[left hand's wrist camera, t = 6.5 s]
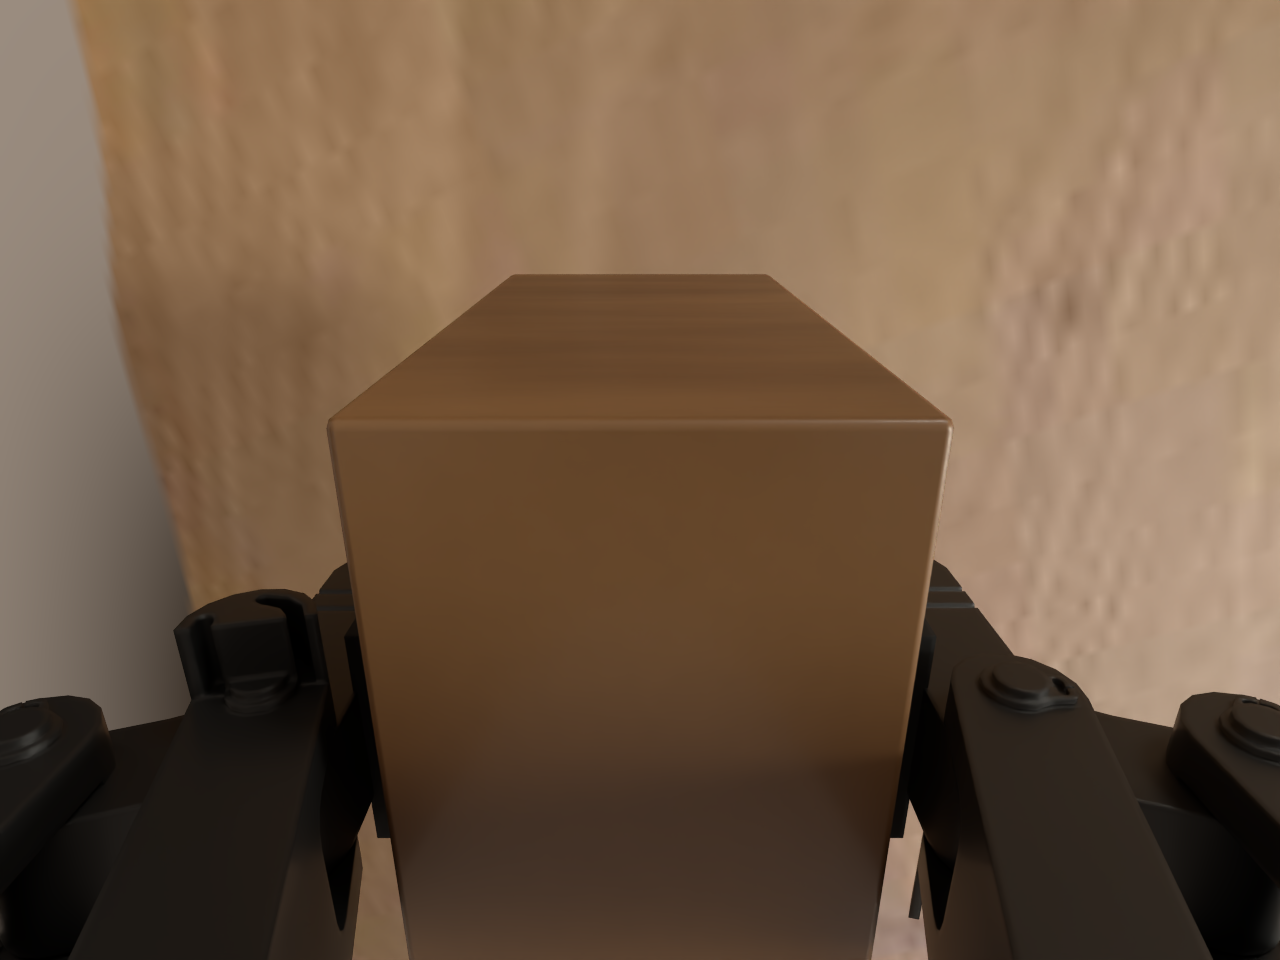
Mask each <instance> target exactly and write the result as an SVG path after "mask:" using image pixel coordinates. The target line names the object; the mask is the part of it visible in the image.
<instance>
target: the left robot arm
mask: <svg viewBox="0 0 1280 960" xmlns="http://www.w3.org/2000/svg"><path fill="white" fill-rule="evenodd" d="M174 635H175V639H176V642H177V646H178V650H179V654H180V658H181V661H182V665H183V669H184V673H185V677H186V681H187V684H188V688H189V692H190V696H191V702H190V704H189V706H188V709H187V711H186V713H185V715H182V716H178V717H175V718H171V719H166V720H161V721H156V722H151V723H146V724H142V725H136V726H131V727H126V728H121V729H116V730H111V731H108V728H107V725H106V722H105V718H104V715H103V712H102V709H101V707H99V706H98V705H97V704H95V703H94V702H93V701H92V700H91V699H88V698H82V697H75V696H58V697H49V698H39V699H34V700H29V701H26V703H22V702H21V703H18V704H15V705H12V706H9V707H6V708H4V709H2V710H1V711H0V960H352V954H353V946H354V937H355V929H356V920H357V912H358V903H359V894H360V886H361V877H362V869H363V867H362V860H361V854H360V848H359V842H358V836H357V835H358V832H359V830H360V827H361V825H362V823H363V820H364V818H365V816H366V813H367V811H368V809H369V806H370V804H371V802H372V808H373V814H374V820H375V826H376V832H377V838H390V832H389V825H388V819H387V813H386V806H385V800H384V793H383V787H382V781H381V774H380V768H379V761H378V755H377V749H376V742H375V736H374V729H373V723H372V717H371V710H370V704H369V697H368V691H367V685H366V678H365V672H364V665H363V659H362V653H361V646H360V640H359V633H358V627H357V620H356V614H355V608H354V601H353V595H352V588H351V582H350V576H349V569H348V563H345V564H344V565H342V566H341V567H339V568H337V569H336V570H334V572H333V573H332V574H331V575H330V577H329V578H328V579H327V581H326V582H325V583H324V585H323V586H322V587H321V589H320V590H319V594H316V595H315V596H314V598H313V599H311V598H310V597H308V596H307V595H306V594H304V593H300V592H296V591H291V590H287V589H262V590H256V591H250V592H245V593H240V594H234V595H231V596H229V597H226V598H223V599H220V600H217V601H215V602H212V603H209V604H207V605H205V606H204V607H202V608H200V609H198V610H197V611H195V612H193V613H192V614H190V615H188V616H187V617H186V618H185V619H184V620H183V621H182V622H181V623H180V624H179V625H178V626H177V627H176V628H175V629H174ZM909 799H910V801H911V803H912V806H913V808H914V810H915V813H916V815H917V817H918V820H919V822H920V824H921V827H922V829H923V836H922V842H921V848H920V853H919V859H918V864H917V870H916V876H915V881H914V887H913V892H912V898H911V904H910V911H909V918H914V919H919V916H920V911H921V906H922V910H923V918H924V927H925V935H926V944H927V952H928V960H1280V706H1279V705H1277V704H1275V703H1272V702H1269V701H1266V700H1263V699H1260V700H1258V699H1256V698H1255V697H1251V696H1246V695H1237V694H1228V693H1218V692H1210V693H1204V694H1197V695H1192V696H1191V697H1189V698H1188V699H1187V700H1186V701H1184V702H1183V703H1182V704H1181V705H1180V708H1179V711H1178V714H1177V718H1176V721H1175V724H1174V727H1173V728H1172V727H1167V726H1162V725H1157V724H1152V723H1147V722H1142V721H1137V720H1131V719H1126V718H1121V717H1116V716H1112V715H1108V714H1104V713H1100V712H1096V711H1094V709H1093V707H1092V705H1091V703H1090V701H1089V699H1088V698H1087V696H1086V695H1085V694H1084V693H1083V691H1082V690H1081V689H1080V687H1079V686H1078V685H1077V684H1076V683H1075V682H1073V681H1072V680H1071V679H1069V678H1068V677H1066V676H1065V675H1063V674H1062V673H1060V672H1059V671H1057V670H1056V669H1053V668H1051V667H1049V666H1046V665H1044V664H1042V663H1039V662H1037V661H1034V660H1032V659H1028V658H1023V657H1019V656H1014V655H1013V653H1012V652H1011V651H1010V650H1009V648H1008V647H1007V646H1006V644H1005V643H1004V642H1003V640H1002V639H1001V638H1000V637H999V635H998V634H997V633H996V631H995V630H994V629H993V627H992V626H991V625H990V624H989V622H988V621H987V620H986V618H985V617H984V616H983V614H982V613H981V612H980V611H979V609H978V608H975V607H974V603H973V601H972V600H971V599H970V598H969V596H968V595H967V594H966V592H965V591H962V587H961V586H960V585H959V583H958V582H957V581H956V579H955V578H954V577H953V575H952V574H951V573H950V571H949V570H948V569H947V568H946V567H945V566H943V565H941V564H940V563H938V562H937V561H935V560H933V566H932V572H931V578H930V585H929V591H928V598H927V604H926V610H925V617H924V623H923V630H922V636H921V643H920V649H919V655H918V662H917V668H916V675H915V681H914V687H913V694H912V700H911V707H910V713H909V720H908V726H907V732H906V739H905V745H904V752H903V758H902V764H901V771H900V777H899V784H898V790H897V797H896V803H895V809H894V816H893V822H892V829H891V835H890V838H903V835H904V829H905V823H906V817H907V811H908V805H909Z"/></svg>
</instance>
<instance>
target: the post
mask: <svg viewBox="0 0 1280 960" xmlns="http://www.w3.org/2000/svg"><path fill="white" fill-rule="evenodd" d="M953 431H954V427H953V423H952V420H951V419H950V418H949V417H948V416H946V415H945V414H944V413H943V412H941V411H940V410H939V409H938V408H936V407H935V406H934V405H932V404H931V403H930V402H929V401H927V400H926V399H925V398H924V397H922V396H921V395H920V394H918V393H917V392H916V391H915V390H913V389H912V388H911V387H910V386H908V385H907V384H906V383H905V382H903V381H902V380H901V379H899V378H898V377H897V376H896V375H894V374H893V373H892V372H891V371H889V370H888V369H887V368H886V367H884V366H883V365H882V364H880V363H879V362H878V361H877V360H875V359H874V358H873V357H872V356H870V355H869V354H868V353H867V352H865V351H864V350H863V349H861V348H860V347H859V346H858V345H856V344H855V343H854V342H853V341H851V340H850V339H849V338H847V337H846V336H845V335H844V334H842V333H841V332H840V331H839V330H837V329H836V328H835V327H834V326H832V325H831V324H830V323H828V322H827V321H826V320H825V319H823V318H822V317H821V316H820V315H818V314H817V313H816V312H815V311H813V310H812V309H811V308H809V307H808V306H807V305H806V304H804V303H803V302H802V301H801V300H799V299H798V298H797V297H796V296H794V295H793V294H792V293H790V292H789V291H788V290H787V289H785V288H784V287H783V286H782V285H780V284H779V283H778V282H776V281H775V280H774V279H773V278H771V277H770V276H768V275H766V274H526V275H512V276H510V277H509V278H508V279H507V280H505V281H504V282H503V283H502V284H500V285H499V286H498V287H496V288H495V289H494V290H493V291H491V292H490V293H489V294H488V295H486V296H485V297H484V298H483V299H481V300H480V301H479V302H477V303H476V304H475V305H474V306H472V307H471V308H470V309H469V310H467V311H466V312H465V313H463V314H462V315H461V316H460V317H458V318H457V319H456V320H455V321H453V322H452V323H451V324H450V325H448V326H447V327H446V328H444V329H443V330H442V331H441V332H439V333H438V334H437V335H436V336H434V337H433V338H432V339H430V340H429V341H428V342H427V343H425V344H424V345H423V346H422V347H420V348H419V349H418V350H417V351H415V352H414V353H413V354H411V355H410V356H409V357H408V358H406V359H405V360H404V361H403V362H401V363H400V364H399V365H398V366H396V367H395V368H394V369H392V370H391V371H390V372H389V373H387V374H386V375H385V376H384V377H382V378H381V379H380V380H378V381H377V382H376V383H375V384H373V385H372V386H371V387H370V388H368V389H367V390H366V391H365V392H363V393H362V394H361V395H359V396H358V397H357V398H356V399H354V400H353V401H352V402H351V403H349V404H348V405H347V406H346V407H344V408H343V409H342V410H340V411H339V412H338V413H337V414H335V415H334V416H333V417H332V418H330V419H329V421H328V425H327V435H328V441H329V448H330V454H331V460H332V467H333V473H334V480H335V486H336V492H337V499H338V505H339V512H340V518H341V524H342V531H343V537H344V544H345V550H346V556H347V563H348V569H349V576H350V582H351V588H352V595H353V601H354V608H355V614H356V620H357V627H358V633H359V640H360V646H361V653H362V659H363V665H364V672H365V678H366V685H367V691H368V697H369V704H370V710H371V717H372V723H373V729H374V736H375V742H376V749H377V755H378V761H379V768H380V774H381V781H382V787H383V793H384V800H385V806H386V813H387V819H388V825H389V832H390V838H391V845H392V851H393V857H394V864H395V870H396V877H397V883H398V890H399V896H400V902H401V909H402V915H403V922H404V928H405V934H406V941H407V947H408V954H409V960H871V957H872V951H873V944H874V938H875V931H876V925H877V918H878V912H879V906H880V899H881V893H882V886H883V880H884V874H885V867H886V861H887V854H888V848H889V841H890V835H891V829H892V822H893V816H894V809H895V803H896V797H897V790H898V784H899V777H900V771H901V764H902V758H903V752H904V745H905V739H906V732H907V726H908V720H909V713H910V707H911V700H912V694H913V687H914V681H915V675H916V668H917V662H918V655H919V649H920V643H921V636H922V630H923V623H924V617H925V610H926V604H927V598H928V591H929V585H930V578H931V572H932V566H933V559H934V553H935V546H936V540H937V534H938V527H939V521H940V514H941V508H942V501H943V495H944V489H945V482H946V476H947V469H948V463H949V457H950V450H951V444H952V437H953Z"/></svg>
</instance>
